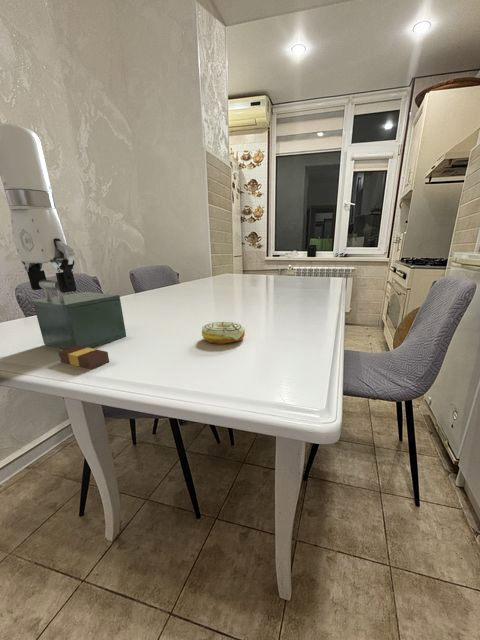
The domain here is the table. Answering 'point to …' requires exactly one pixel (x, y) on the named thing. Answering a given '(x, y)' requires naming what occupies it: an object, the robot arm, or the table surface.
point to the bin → (81, 324)
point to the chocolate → (84, 357)
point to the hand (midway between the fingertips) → (54, 290)
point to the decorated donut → (223, 332)
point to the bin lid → (68, 297)
